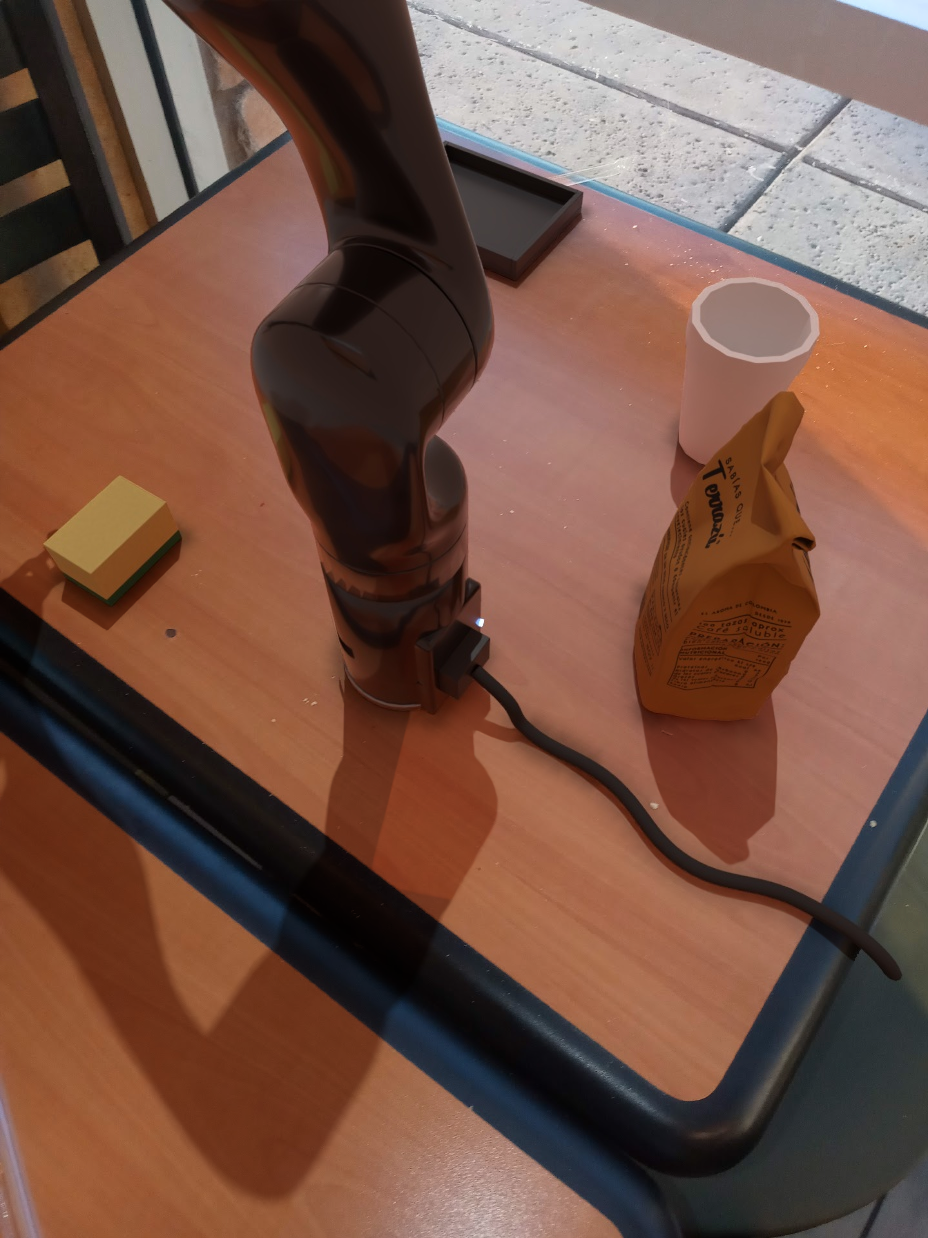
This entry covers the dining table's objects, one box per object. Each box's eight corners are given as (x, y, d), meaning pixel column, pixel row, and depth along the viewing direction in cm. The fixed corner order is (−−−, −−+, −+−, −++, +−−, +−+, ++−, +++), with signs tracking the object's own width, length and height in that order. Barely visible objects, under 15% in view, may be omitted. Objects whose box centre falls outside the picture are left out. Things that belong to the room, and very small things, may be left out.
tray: (581, 211, 95) (583, 191, 93) (515, 281, 90) (516, 261, 88) (445, 159, 100) (445, 139, 98) (374, 222, 95) (372, 202, 93)
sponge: (137, 510, 75) (119, 474, 71) (182, 537, 73) (166, 501, 70) (65, 577, 71) (42, 543, 67) (111, 607, 70) (90, 574, 66)
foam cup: (643, 413, 80) (671, 290, 69) (738, 390, 82) (781, 266, 70) (689, 492, 75) (726, 375, 64) (789, 467, 77) (843, 347, 66)
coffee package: (767, 594, 70) (876, 381, 51) (764, 739, 64) (887, 557, 45) (638, 574, 71) (699, 358, 52) (622, 715, 65) (685, 527, 46)
